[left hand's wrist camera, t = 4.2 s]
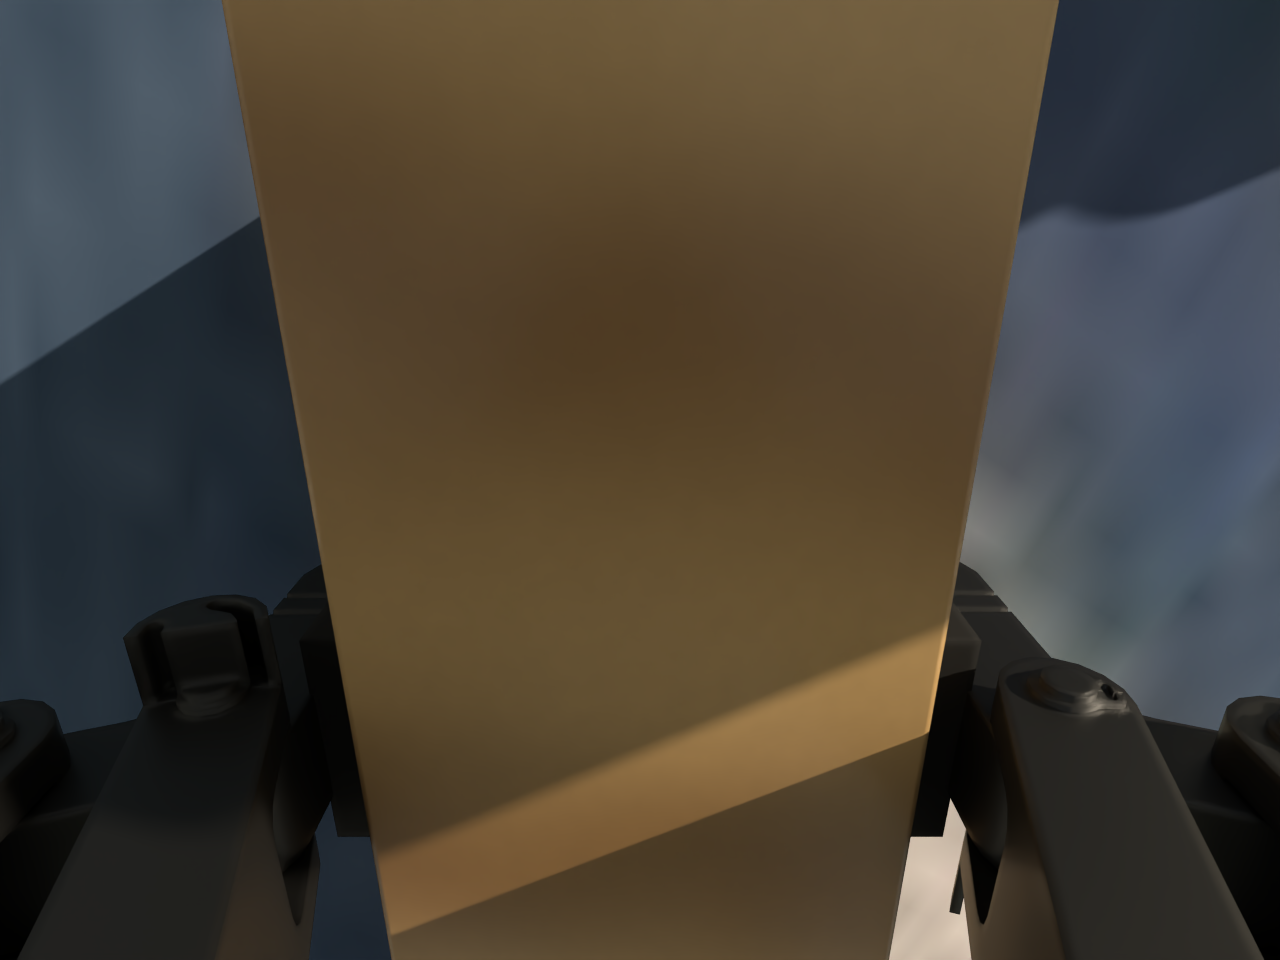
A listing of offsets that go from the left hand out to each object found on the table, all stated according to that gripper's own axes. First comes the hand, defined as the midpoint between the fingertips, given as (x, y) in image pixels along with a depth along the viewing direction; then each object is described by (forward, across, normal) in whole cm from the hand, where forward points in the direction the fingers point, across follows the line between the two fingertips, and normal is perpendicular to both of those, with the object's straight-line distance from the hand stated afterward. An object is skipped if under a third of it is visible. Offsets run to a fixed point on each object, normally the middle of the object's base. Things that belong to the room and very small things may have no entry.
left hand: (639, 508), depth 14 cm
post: (+1, 0, -24) cm, 24 cm away
